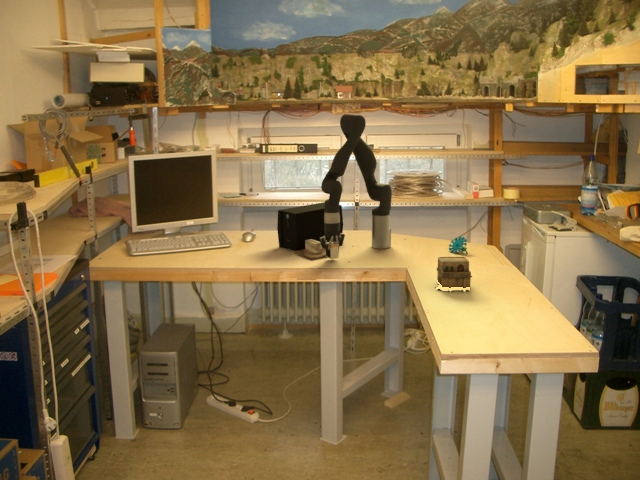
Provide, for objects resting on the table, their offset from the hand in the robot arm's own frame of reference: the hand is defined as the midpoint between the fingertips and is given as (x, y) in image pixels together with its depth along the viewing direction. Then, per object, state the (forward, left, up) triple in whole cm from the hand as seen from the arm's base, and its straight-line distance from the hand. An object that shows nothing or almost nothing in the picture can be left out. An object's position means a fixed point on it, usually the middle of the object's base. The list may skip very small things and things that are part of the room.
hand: (332, 255), depth 294 cm
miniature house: (-16, +63, -3) cm, 65 cm away
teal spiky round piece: (-59, +26, -3) cm, 64 cm away
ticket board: (0, -14, -2) cm, 14 cm away
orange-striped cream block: (0, 0, -1) cm, 1 cm away
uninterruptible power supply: (-10, -33, -3) cm, 35 cm away
